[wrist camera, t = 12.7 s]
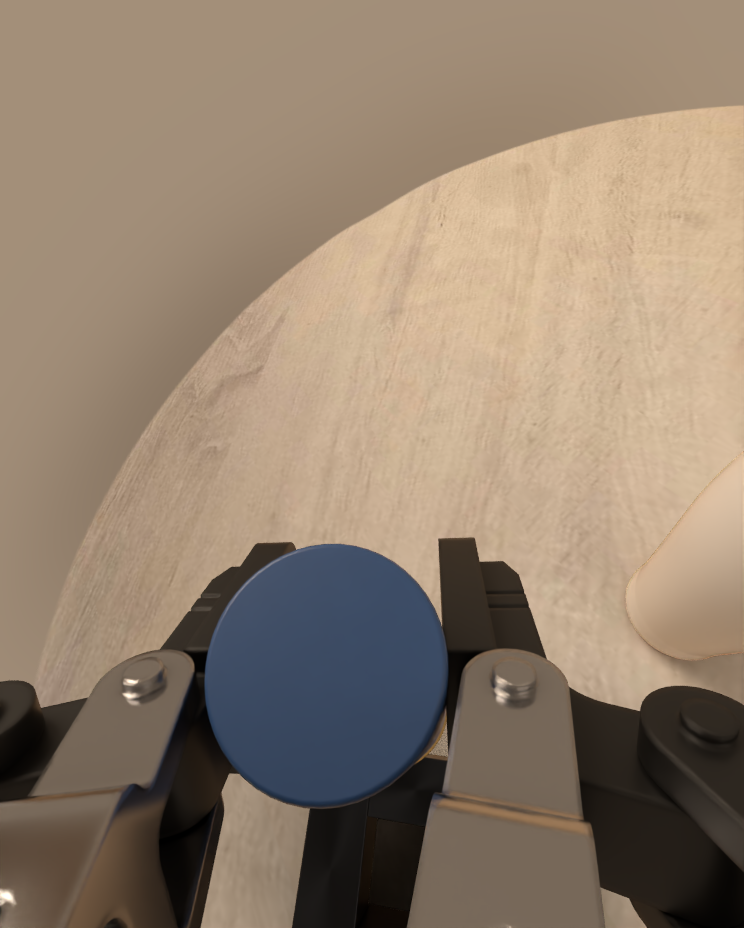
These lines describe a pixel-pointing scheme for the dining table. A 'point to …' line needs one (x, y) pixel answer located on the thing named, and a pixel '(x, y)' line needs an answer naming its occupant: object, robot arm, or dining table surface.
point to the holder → (359, 852)
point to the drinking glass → (696, 577)
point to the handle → (327, 676)
